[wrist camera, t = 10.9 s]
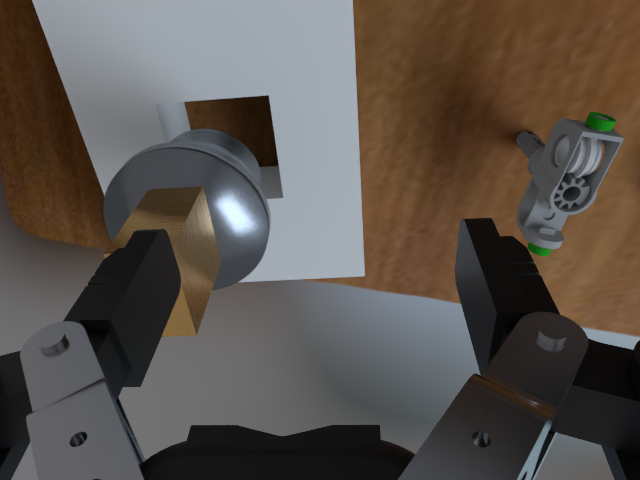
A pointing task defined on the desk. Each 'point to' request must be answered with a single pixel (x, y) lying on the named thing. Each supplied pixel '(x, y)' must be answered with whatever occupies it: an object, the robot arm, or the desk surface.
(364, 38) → the desk surface
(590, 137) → the mechanical component
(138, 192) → the end cap
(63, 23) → the housing
